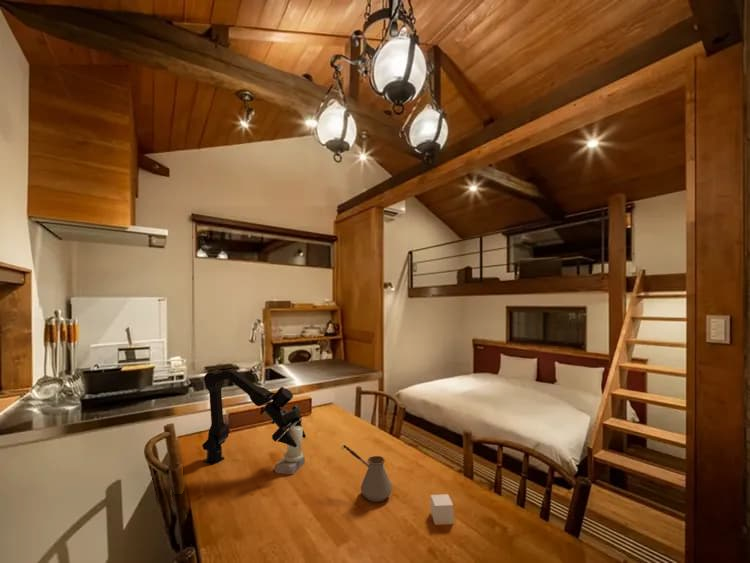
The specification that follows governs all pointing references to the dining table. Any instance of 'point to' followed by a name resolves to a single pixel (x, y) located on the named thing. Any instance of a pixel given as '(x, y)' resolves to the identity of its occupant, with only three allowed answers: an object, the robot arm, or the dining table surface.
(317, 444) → the dining table surface
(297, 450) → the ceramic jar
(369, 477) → the coffee pot
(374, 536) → the dining table surface
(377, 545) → the dining table surface
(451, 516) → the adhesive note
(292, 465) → the stone block
